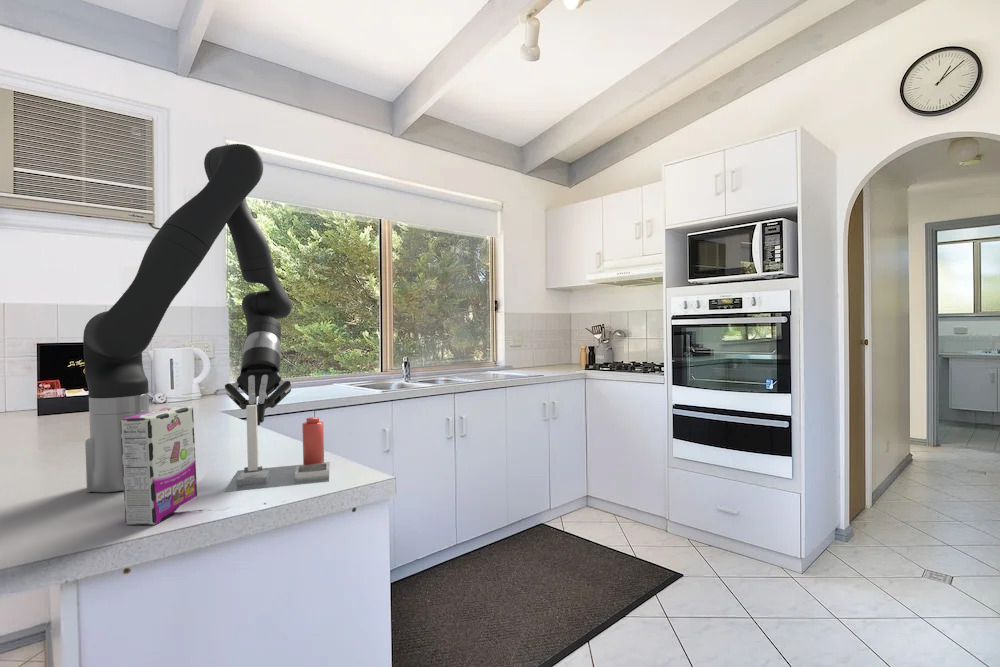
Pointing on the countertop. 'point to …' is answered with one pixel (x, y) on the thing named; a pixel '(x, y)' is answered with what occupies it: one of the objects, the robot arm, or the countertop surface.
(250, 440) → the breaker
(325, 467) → the panel
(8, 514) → the countertop surface
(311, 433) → the red cylindrical peg
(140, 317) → the robot arm
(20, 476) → the countertop surface
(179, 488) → the candy bar box
